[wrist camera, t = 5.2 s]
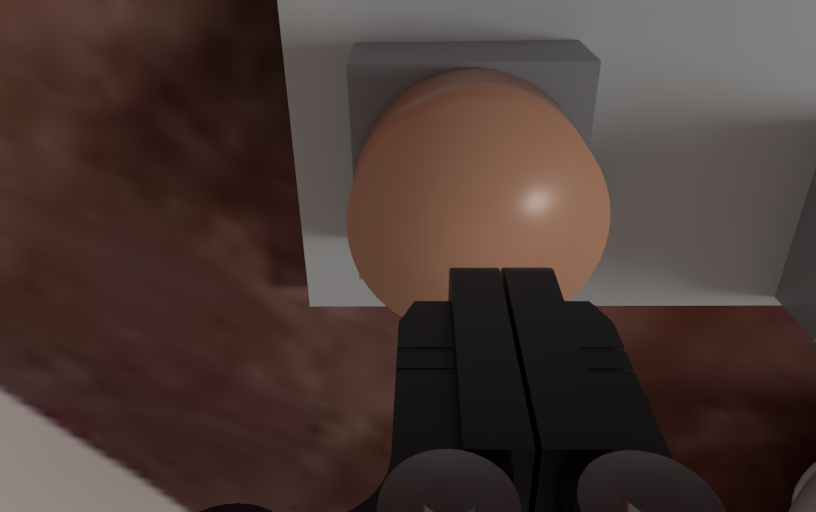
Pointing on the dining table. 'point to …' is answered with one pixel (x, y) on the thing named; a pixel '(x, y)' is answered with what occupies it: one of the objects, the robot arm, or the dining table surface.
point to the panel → (592, 130)
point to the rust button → (473, 188)
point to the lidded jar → (805, 492)
